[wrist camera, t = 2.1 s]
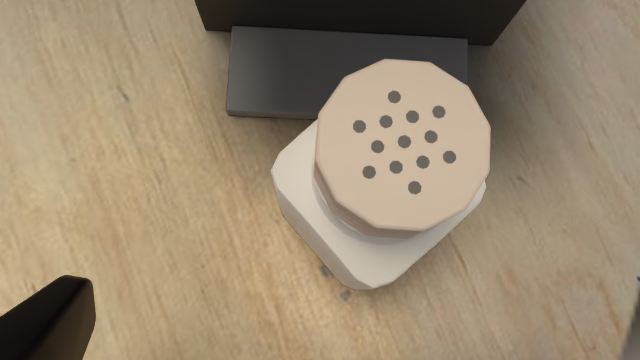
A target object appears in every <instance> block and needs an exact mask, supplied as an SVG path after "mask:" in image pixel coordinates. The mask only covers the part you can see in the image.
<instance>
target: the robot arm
mask: <svg viewBox="0 0 640 360" xmlns="http://www.w3.org/2000/svg"><path fill="white" fill-rule="evenodd" d="M95 321H96V312H95V302H94V293H93V285H92V282H91V281H90V280H89V279H87V278H82V277H77V276H71V275H64V276H61V277H59V278H57V279H56V280H54V281H53V282H51V283H50V284H48V285H47V286H46V287H44V288H43V289H41V290H40V291H38V292H37V293H35V294H34V295H32V296H31V297H29V298H28V299H26V300H25V301H23V302H22V303H20V304H19V305H17V306H16V307H14V308H13V309H11V310H10V311H8V312H7V313H5V314H4V315H2V316H1V317H0V360H82V359H83V356H84V354H85V351H86V348H87V346H88V343H89V340H90V338H91V335H92V333H93V330H94V326H95Z"/></svg>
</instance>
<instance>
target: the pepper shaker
mask: <svg viewBox="0 0 640 360" xmlns="http://www.w3.org/2000/svg"><path fill="white" fill-rule="evenodd" d="M490 132H491V127H490V125H489V123H488V121H487V119H486V118H485V116H484V114H483V112H482V110H481V108H480V107H479V105H478V103H477V101H476V99H475V97H474V96H473V94H472V92H471V90H470V88H469V87H468V86H467V85H465V84H463V83H462V82H460V81H459V80H457V79H456V78H454V77H453V76H451V75H449V74H448V73H446V72H445V71H443V70H442V69H440V68H438V67H437V66H435V65H434V64H432V63H431V62H422V61H409V60H396V59H383V60H381V61H379V62H376V63H374V64H372V65H370V66H368V67H366V68H363V69H361V70H359V71H357V72H355V73H352V74H350V75H348V76H346V77H344V78H343V80H342V81H341V82H340V84H339V85H338V87H337V88H336V90H335V91H334V92H333V94H332V95H331V97H330V98H329V99H328V101H327V102H326V104H325V105H324V107H323V108H322V109H321V111H320V112H319V114H318V119H317V120H316V121H314V122H313V123H312V124H311V125H310V126H309V127H307V128H306V129H305V130H304V131H303V132H302V133H301V134H300V135H298V136H297V137H296V138H295V139H294V140H293V141H292V142H291V143H290V144H289V145H287V146H286V147H285V148H284V149H283V150H282V151H281V152H280V153H279V154H278V156H277V158H276V160H275V162H274V165H273V167H272V169H271V171H270V173H271V176H272V180H273V184H274V187H275V191H276V195H277V198H278V202H279V205H280V208H281V211H282V214H283V216H284V218H285V219H286V220H287V221H288V222H289V223H290V225H291V226H292V227H293V228H294V229H295V230H296V231H297V233H298V234H299V235H300V236H301V237H302V238H303V240H304V241H305V242H306V243H307V244H308V245H309V247H310V248H311V249H312V250H313V251H314V252H315V254H316V255H317V256H318V257H319V258H320V259H321V260H322V262H323V263H324V264H325V265H326V266H327V267H328V269H329V270H330V271H331V272H332V273H333V274H334V276H335V277H336V278H337V279H338V280H339V281H340V282H341V283H342V284H344V285H346V286H348V287H350V288H352V289H354V290H366V289H375V288H379V287H382V286H385V285H388V284H391V283H393V282H394V281H395V280H396V279H397V278H399V277H400V276H401V275H402V274H403V273H404V272H405V271H407V270H408V269H409V268H410V267H411V266H412V265H414V264H415V263H416V262H417V261H418V260H419V259H420V258H422V257H423V256H424V255H425V254H426V253H427V252H428V251H429V250H431V249H432V248H433V247H434V246H435V245H436V244H437V243H438V242H440V241H441V240H442V239H443V238H444V237H445V236H446V235H447V234H448V233H449V232H450V231H452V230H453V229H454V228H455V227H456V226H457V225H458V224H459V223H460V222H461V221H462V220H463V219H464V218H466V217H467V216H468V215H469V214H470V213H471V212H472V211H473V210H474V209H475V208H476V207H477V206H478V205H479V204H480V203H481V200H482V197H483V195H484V192H485V189H486V184H485V179H486V177H487V176H488V174H489V172H490Z"/></svg>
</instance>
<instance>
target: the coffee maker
mask: <svg viewBox="0 0 640 360" xmlns="http://www.w3.org/2000/svg"><path fill="white" fill-rule="evenodd" d="M525 2H526V0H195V3H196V6H197V8H198V11H199V14H200V16H201V19H202V22H203V24H204V27H205V29H206V30H221V31H232V34H231V46H230V59H229V72H228V85H227V98H226V111H227V113H228V115H239V116H257V117H276V118H295V119H314V120H317V119H318V114H319V112H320V111H321V109H322V108H323V107H324V105H325V104H326V102H327V101H328V99H329V98H330V97H331V95H332V94H333V92H334V91H335V90H336V88H337V87H338V85H339V84H340V82H341V81H342V80H343V78H344V77H346V76H348V75H350V74H352V73H355V72H357V71H359V70H361V69H363V68H366V67H368V66H370V65H372V64H374V63H376V62H379V61H381V60H383V59H396V60H409V61H422V62H431V63H432V64H434V65H435V66H437V67H438V68H440V69H442V70H443V71H445V72H446V73H448V74H449V75H451V76H453V77H454V78H456V79H457V80H459V81H460V82H462V83H463V84H465V85H467V74H468V44H473V45H493V43H494V42H495V41H496V39H497V38H498V37H499V36H500V34H501V33H502V32H503V30H504V29H505V28H506V26H507V25H508V24H509V23H510V21H511V20H512V19H513V17H514V16H515V15H516V13H517V12H518V11H519V10H520V8H521V7H522V6H523V4H524V3H525Z"/></svg>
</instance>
